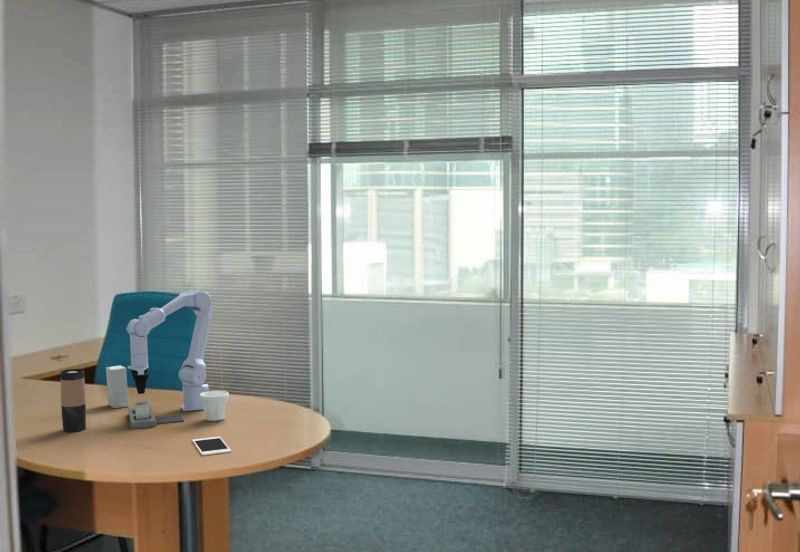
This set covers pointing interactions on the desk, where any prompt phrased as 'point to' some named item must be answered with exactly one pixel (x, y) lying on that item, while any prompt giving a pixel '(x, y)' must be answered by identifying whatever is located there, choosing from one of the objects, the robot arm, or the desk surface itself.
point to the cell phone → (211, 446)
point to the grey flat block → (141, 420)
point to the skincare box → (117, 386)
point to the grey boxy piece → (142, 410)
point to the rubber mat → (169, 419)
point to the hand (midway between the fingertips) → (140, 391)
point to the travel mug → (73, 400)
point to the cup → (214, 404)
